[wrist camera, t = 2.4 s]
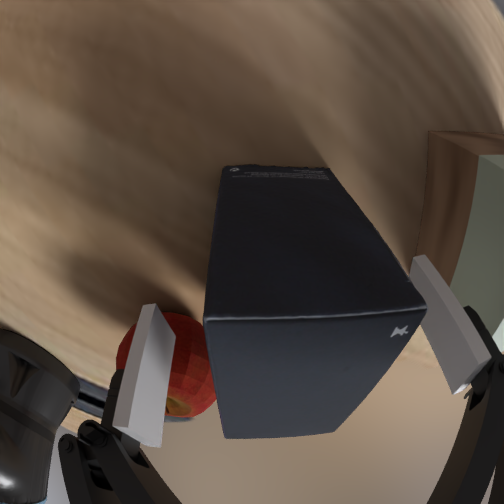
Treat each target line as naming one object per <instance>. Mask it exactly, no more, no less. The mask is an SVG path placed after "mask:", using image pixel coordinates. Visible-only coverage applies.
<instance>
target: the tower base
mask: <svg viewBox="0 0 504 504" xmlns="http://www.w3.org/2000/svg"><path fill="white" fill-rule="evenodd" d="M479 155H504V135H503V134H492V133H478V132H456V131H428V161H427V176H426V188H425V197H424V206H423V213H422V221H421V227H420V233H419V239H418V245H417V250H416V255H415V257H416V256H420V255H424V254H425V255H426V257H427V258H428V259H429V260H430V262H431V263H432V264H433V266H434V267H435V268H436V270H437V271H438V272H439V274H440V275H441V277H442V278H443V279H444V281H445V282H446V284H447V285H448V286H449V287H450V284H451V281H452V278H453V275H454V272H455V269H456V266H457V263H458V260H459V256H460V253H461V249H462V246H463V242H464V238H465V234H466V230H467V226H468V221H469V217H470V212H471V207H472V202H473V196H474V191H475V184H476V177H477V170H478V161H479Z"/></svg>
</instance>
